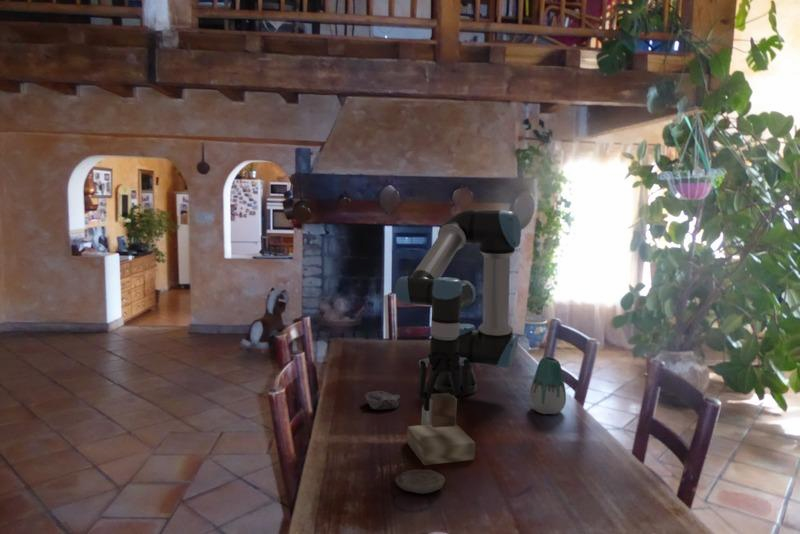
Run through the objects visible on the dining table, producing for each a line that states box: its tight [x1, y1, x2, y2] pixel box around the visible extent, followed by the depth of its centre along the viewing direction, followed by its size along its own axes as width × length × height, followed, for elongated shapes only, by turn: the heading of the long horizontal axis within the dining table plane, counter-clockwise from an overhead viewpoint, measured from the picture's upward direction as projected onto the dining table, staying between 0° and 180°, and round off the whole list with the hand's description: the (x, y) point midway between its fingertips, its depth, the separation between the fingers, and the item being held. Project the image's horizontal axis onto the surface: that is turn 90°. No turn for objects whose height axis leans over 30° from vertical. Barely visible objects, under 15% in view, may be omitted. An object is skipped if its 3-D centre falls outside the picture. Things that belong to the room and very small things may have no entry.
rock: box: [364, 390, 401, 411], centre depth 188 cm, size 8×11×5 cm
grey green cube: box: [420, 405, 431, 425], centre depth 172 cm, size 6×6×6 cm
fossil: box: [395, 469, 446, 494], centre depth 136 cm, size 10×12×3 cm
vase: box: [528, 356, 567, 415], centre depth 188 cm, size 12×12×18 cm
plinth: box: [406, 422, 476, 466], centre depth 156 cm, size 14×14×5 cm
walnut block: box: [430, 392, 457, 428], centre depth 155 cm, size 6×6×7 cm
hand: (440, 421), depth 155 cm, fingers closed on walnut block, 6 cm apart
